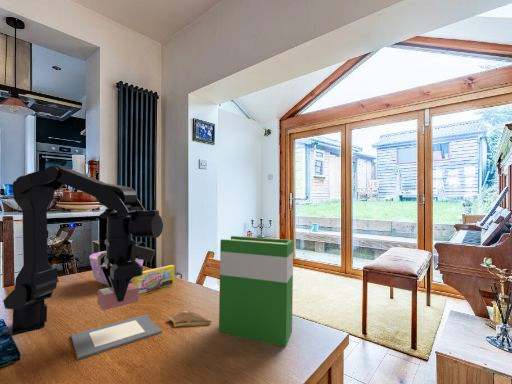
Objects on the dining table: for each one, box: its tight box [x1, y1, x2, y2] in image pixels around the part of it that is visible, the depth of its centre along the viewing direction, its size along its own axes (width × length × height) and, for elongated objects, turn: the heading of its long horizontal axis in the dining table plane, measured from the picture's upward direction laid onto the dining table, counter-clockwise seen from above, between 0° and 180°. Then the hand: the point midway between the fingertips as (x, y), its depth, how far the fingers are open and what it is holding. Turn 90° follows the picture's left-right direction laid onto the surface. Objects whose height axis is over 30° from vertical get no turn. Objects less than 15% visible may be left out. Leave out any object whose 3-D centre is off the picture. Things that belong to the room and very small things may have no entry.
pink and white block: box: [97, 282, 139, 311], centre depth 67 cm, size 5×8×4 cm, turn 134°
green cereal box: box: [218, 235, 294, 348], centre depth 69 cm, size 18×7×24 cm, turn 71°
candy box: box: [131, 264, 176, 298], centre depth 97 cm, size 16×2×8 cm, turn 143°
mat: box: [70, 314, 162, 361], centre depth 66 cm, size 18×12×1 cm, turn 131°
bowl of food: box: [88, 250, 144, 287], centre depth 106 cm, size 20×20×12 cm
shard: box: [168, 310, 212, 328], centre depth 73 cm, size 11×8×2 cm
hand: (117, 298), depth 67 cm, fingers closed on pink and white block, 5 cm apart
